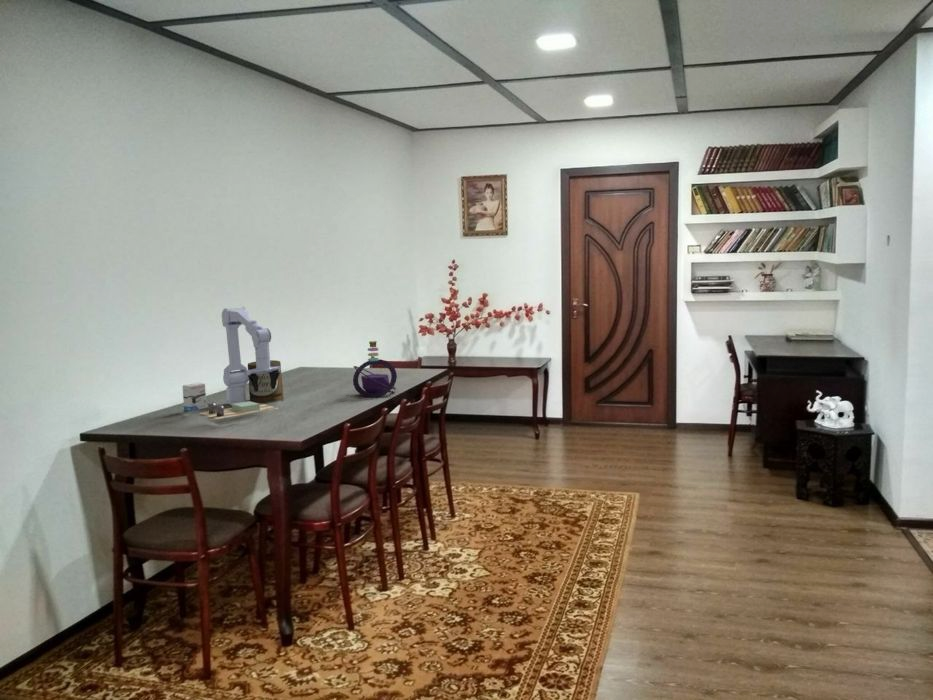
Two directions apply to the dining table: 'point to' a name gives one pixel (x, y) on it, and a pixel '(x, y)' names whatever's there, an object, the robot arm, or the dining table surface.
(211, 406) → the cylinder
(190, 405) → the ink box
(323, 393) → the dining table surface
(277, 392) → the wooden container
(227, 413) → the bench board
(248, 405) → the mint green book-shaped slab
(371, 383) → the decorative bottle
